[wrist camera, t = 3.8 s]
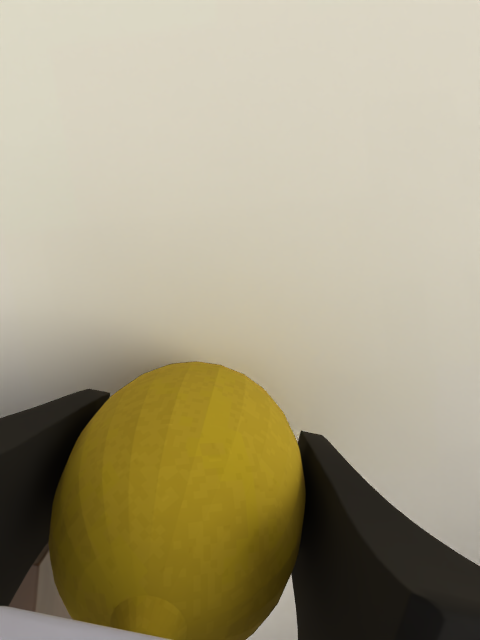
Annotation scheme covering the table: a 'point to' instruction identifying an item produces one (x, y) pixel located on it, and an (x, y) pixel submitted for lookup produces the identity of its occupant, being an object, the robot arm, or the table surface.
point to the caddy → (40, 589)
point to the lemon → (180, 507)
